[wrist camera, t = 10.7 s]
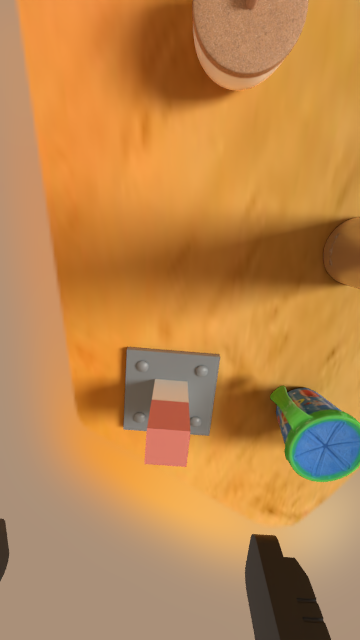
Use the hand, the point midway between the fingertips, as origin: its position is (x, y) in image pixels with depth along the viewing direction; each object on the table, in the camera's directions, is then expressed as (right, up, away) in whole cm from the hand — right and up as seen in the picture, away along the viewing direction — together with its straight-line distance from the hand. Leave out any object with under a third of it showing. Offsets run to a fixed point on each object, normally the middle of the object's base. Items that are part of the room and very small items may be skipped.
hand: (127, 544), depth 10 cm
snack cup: (+21, -7, +39) cm, 44 cm away
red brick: (0, -6, +31) cm, 31 cm away
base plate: (0, -4, +37) cm, 38 cm away
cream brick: (0, -4, +36) cm, 37 cm away
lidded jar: (+8, +39, +25) cm, 47 cm away
